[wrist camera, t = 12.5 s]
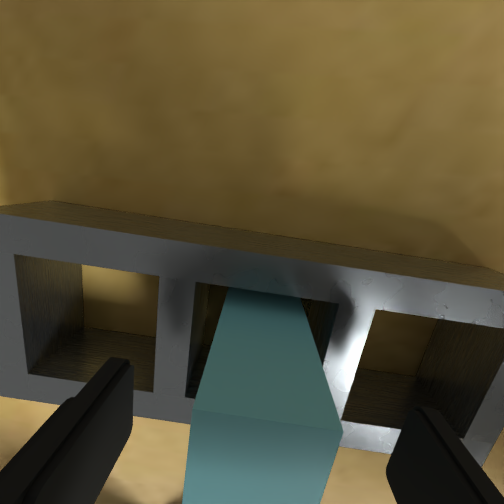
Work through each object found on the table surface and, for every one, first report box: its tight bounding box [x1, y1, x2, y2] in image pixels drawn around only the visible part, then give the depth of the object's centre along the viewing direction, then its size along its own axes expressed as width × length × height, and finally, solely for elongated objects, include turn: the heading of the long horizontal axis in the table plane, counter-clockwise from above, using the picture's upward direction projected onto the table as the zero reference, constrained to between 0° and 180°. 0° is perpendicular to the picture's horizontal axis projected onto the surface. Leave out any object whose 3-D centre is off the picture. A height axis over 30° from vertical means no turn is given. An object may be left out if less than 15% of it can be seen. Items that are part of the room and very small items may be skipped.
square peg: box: [182, 287, 344, 504], centre depth 11 cm, size 4×4×9 cm
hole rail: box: [0, 201, 504, 467], centre depth 13 cm, size 9×24×4 cm, turn 81°
